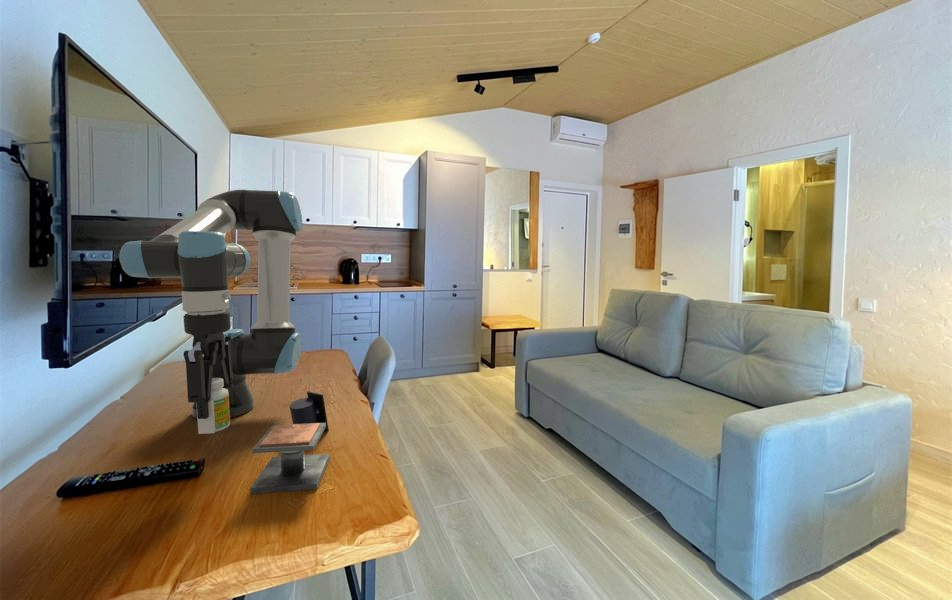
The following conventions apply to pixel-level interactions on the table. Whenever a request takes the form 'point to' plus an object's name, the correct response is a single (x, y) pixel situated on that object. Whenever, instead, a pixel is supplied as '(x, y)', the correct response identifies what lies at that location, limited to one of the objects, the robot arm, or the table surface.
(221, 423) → the supplement bottle
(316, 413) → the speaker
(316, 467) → the stand
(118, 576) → the table surface
